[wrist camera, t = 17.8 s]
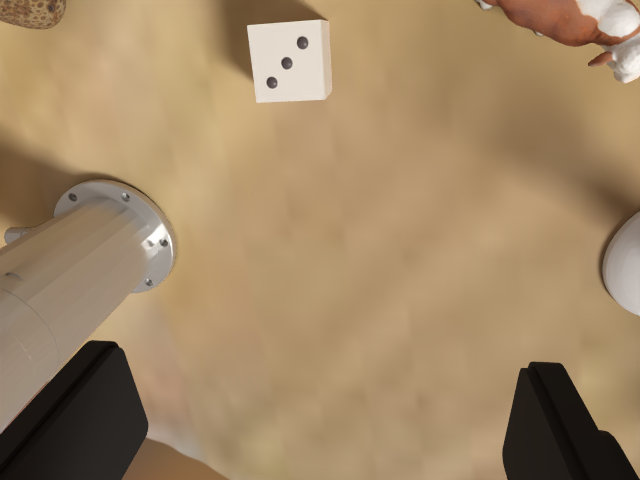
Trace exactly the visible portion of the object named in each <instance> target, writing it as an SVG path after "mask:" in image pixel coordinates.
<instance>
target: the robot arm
mask: <svg viewBox="0 0 640 480" xmlns="http://www.w3.org/2000/svg"><path fill="white" fill-rule="evenodd" d="M4 239H5V242H6V243H7V245H5V246H4V247H2V248H0V433H1V432H2V430H3V429H4V428H5V427H6V426H7V424H8V423H9V422H10V421H11V420H12V418H13V417H14V416H15V415H16V414H17V413H18V412H19V411H20V410H21V409H22V408H23V406H24V405H25V404H26V403H27V402H28V401H29V400H30V399H31V397H33V395H34V394H35V393H36V392H37V391H38V390H39V389H40V388H41V387H42V386H43V385H44V384H45V383H46V382H47V381H48V380H49V379H50V377H51V376H52V375H53V374H54V373H55V372H56V371H57V370H58V369H59V368H60V367H61V366H62V365H63V364H64V363H65V362H66V361H67V360H68V358H69V357H70V356H71V355H72V354H73V353H74V352H75V351H76V350H77V349H78V348H79V347H80V346H81V345H82V344H83V343H84V342H85V341H86V339H87V338H88V337H89V336H90V335H91V334H92V333H93V332H94V331H95V330H96V329H97V328H98V327H99V326H100V325H101V324H102V323H103V322H104V320H105V319H106V318H107V317H108V316H109V315H110V314H111V313H112V312H113V311H114V310H115V309H116V308H117V307H118V306H119V305H120V304H121V303H122V301H123V300H124V299H125V298H126V297H127V296H128V295H129V294H130V293H141V292H145V291H148V290H150V289H152V288H155V287H156V286H158V285H159V284H160V283H161V282H162V281H163V280H164V279H165V278H166V277H167V276H168V275H169V273H170V271H171V270H172V268H173V266H174V263H175V259H176V242H175V236H174V234H173V231H172V228H171V226H170V224H169V222H168V220H167V219H166V217H165V215H164V214H163V213H162V212H161V210H160V209H159V208H158V207H157V205H156V204H154V203H153V202H152V201H151V200H150V199H149V198H148V197H147V196H145V195H144V194H142V193H141V192H139V191H138V190H136V189H134V188H132V187H130V186H128V185H126V184H124V183H120V182H116V181H113V180H104V179H96V180H88V181H85V182H82V183H79V184H78V185H76V186H74V187H72V188H70V189H69V190H67V191H66V192H65V193H64V194H63V195H62V196H61V197H60V199H59V200H58V202H57V204H56V207H55V210H54V215H53V218H52V219H51V220H49V221H47V222H45V223H44V224H42V225H38V226H36V227H35V228H28V227H10V228H9V229H7V230H6V232H5V235H4ZM147 432H148V420H147V417H146V414H145V411H144V409H143V406H142V403H141V400H140V397H139V394H138V391H137V388H136V385H135V382H134V379H133V376H132V373H131V370H130V368H129V365H128V362H127V359H126V356H125V353H124V351H123V349H122V348H119V346H118V344H117V343H116V342H113V341H95V340H91V341H89V342H87V343H86V344H85V345H84V346H83V347H82V348H81V349H80V350H79V351H78V352H77V353H76V354H75V355H74V356H73V357H72V358H71V360H70V361H69V362H68V363H67V364H66V365H65V366H64V367H63V368H62V369H61V370H60V371H59V372H58V373H57V374H56V376H55V377H54V378H53V379H52V380H51V381H50V382H49V383H48V384H47V385H46V386H45V387H44V388H43V390H41V392H40V393H39V394H38V395H37V396H36V397H35V398H34V399H33V400H32V401H31V402H30V403H29V405H28V406H26V408H25V409H24V410H23V411H22V412H21V413H20V414H19V415H18V416H17V417H16V418H15V419H14V420H13V421H12V423H11V424H10V425H9V426H8V427H7V428H6V429H5V430H4V431H3V432H2V433H1V434H0V480H121V479H122V477H123V475H124V474H125V472H126V470H127V469H128V467H129V465H130V464H131V462H132V460H133V458H134V456H135V455H136V453H137V451H138V449H139V448H140V446H141V444H142V443H143V441H144V439H145V437H146V435H147ZM502 456H503V464H504V468H505V472H506V475H507V479H508V480H640V479H639V478H638V476H637V474H636V473H635V471H634V469H633V467H632V466H631V464H630V462H629V460H628V459H627V457H626V455H625V453H624V452H623V450H622V448H621V447H620V445H619V443H618V442H617V441H616V439H615V438H614V436H612V435H611V434H610V433H609V432H607V431H602V430H598V428H597V426H596V424H595V422H594V421H593V419H592V417H591V415H590V413H589V411H588V410H587V408H586V406H585V404H584V402H583V400H582V399H581V397H580V395H579V393H578V391H577V390H576V388H575V386H574V384H573V382H572V380H571V379H570V377H569V375H568V373H567V371H566V369H565V368H564V366H563V365H562V364H560V363H551V362H530V364H529V366H528V368H521V369H520V372H519V377H518V381H517V386H516V390H515V395H514V399H513V404H512V409H511V413H510V418H509V422H508V427H507V432H506V436H505V441H504V445H503V452H502Z"/></svg>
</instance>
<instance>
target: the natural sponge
mask: <svg viewBox="0 0 640 480" xmlns="http://www.w3.org/2000/svg"><path fill="white" fill-rule="evenodd" d="M65 8H66V0H0V21H3V22H6V23H9V24H13V25H17V26H21V27H25V28H30V29H48V28H52V27H54V26H55V25H56V24H57V23H58V22H59V21H60V20H61V18H62V17H63V15H64V11H65Z"/></svg>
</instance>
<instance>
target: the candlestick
mask: <svg viewBox="0 0 640 480" xmlns="http://www.w3.org/2000/svg"><path fill="white" fill-rule="evenodd" d="M602 273H603V280H604V283H605V286H606V288H607V290H608V292H609V293H610V295H611V296H612V297H613V298H614V299H615V301H616V302H617V303H618V304H620V305H621V306H622V307H623V308H625V309H626V310H628V311H630V312H632V313H634V314H636V315H639V316H640V211H639V212H637V213H636V214H635V215H634V216H632V217H631V218H630V219H629V220H628V221H627V222H626V223H625V224H624V225H623V226H622V227H621V228H620V229H619V230H618V231H617V233H616V234H615V236H614V237H613V239H612V240H611V242H610V244H609V246H608V248H607V250H606V253H605V256H604V259H603V266H602Z"/></svg>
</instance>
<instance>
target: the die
mask: <svg viewBox="0 0 640 480" xmlns="http://www.w3.org/2000/svg"><path fill="white" fill-rule="evenodd" d="M247 30H248V38H249V46H250V54H251V62H252V70H253V78H254V86H255V94H256V102H257V103H262V102H283V101H303V100H324V99H326V98H327V96H328V95H329V94H330V93H331V91H332V77H331V56H330V35H329V21H325V20H309V21H296V22H283V23H270V24H257V25H247Z"/></svg>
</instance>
